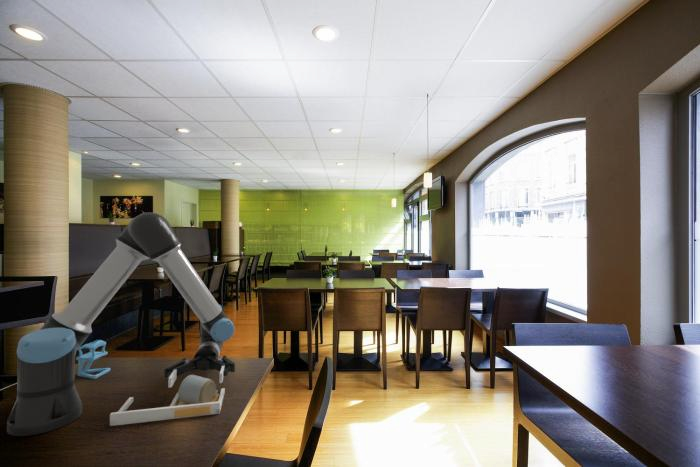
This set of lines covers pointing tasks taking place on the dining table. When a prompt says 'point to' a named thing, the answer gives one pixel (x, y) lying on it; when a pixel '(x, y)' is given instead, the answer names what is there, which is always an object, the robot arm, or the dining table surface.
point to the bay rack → (166, 411)
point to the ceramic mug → (197, 390)
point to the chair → (91, 359)
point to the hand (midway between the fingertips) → (195, 380)
